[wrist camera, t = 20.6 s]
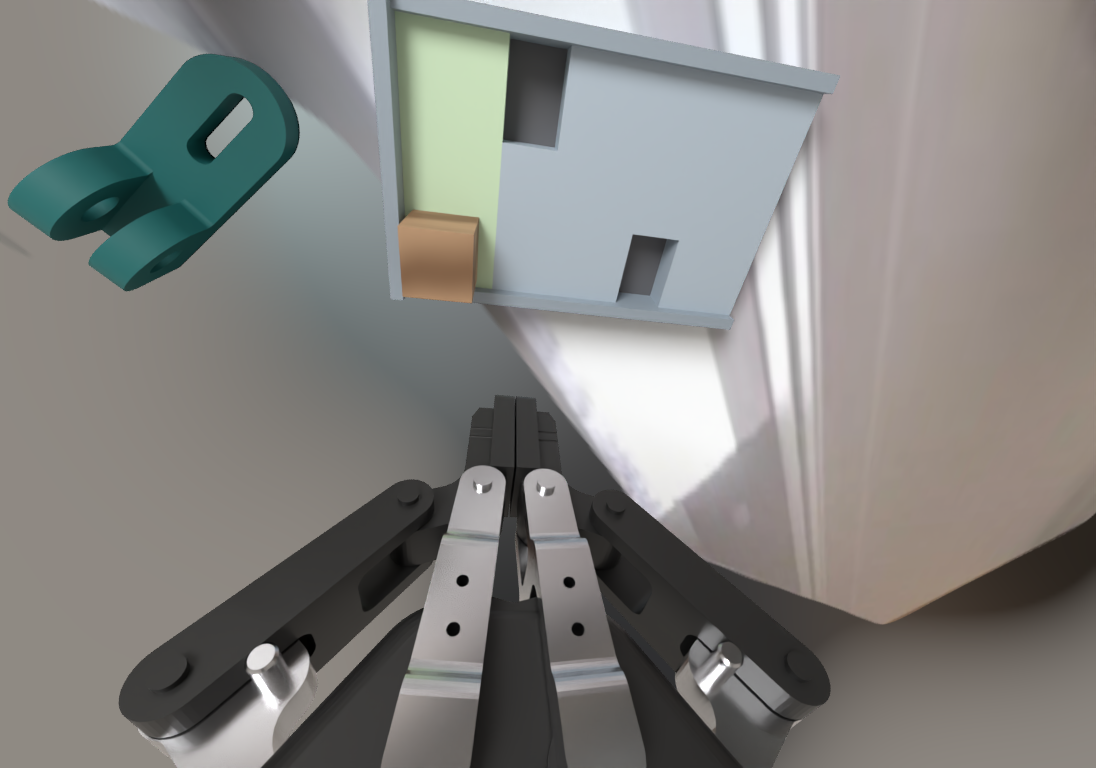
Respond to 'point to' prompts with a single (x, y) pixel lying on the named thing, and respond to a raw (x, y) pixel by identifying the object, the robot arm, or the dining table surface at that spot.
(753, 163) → the tray
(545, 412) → the robot arm
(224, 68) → the bracket
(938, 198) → the dining table surface
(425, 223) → the block
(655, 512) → the dining table surface
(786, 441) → the dining table surface
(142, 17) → the dining table surface
